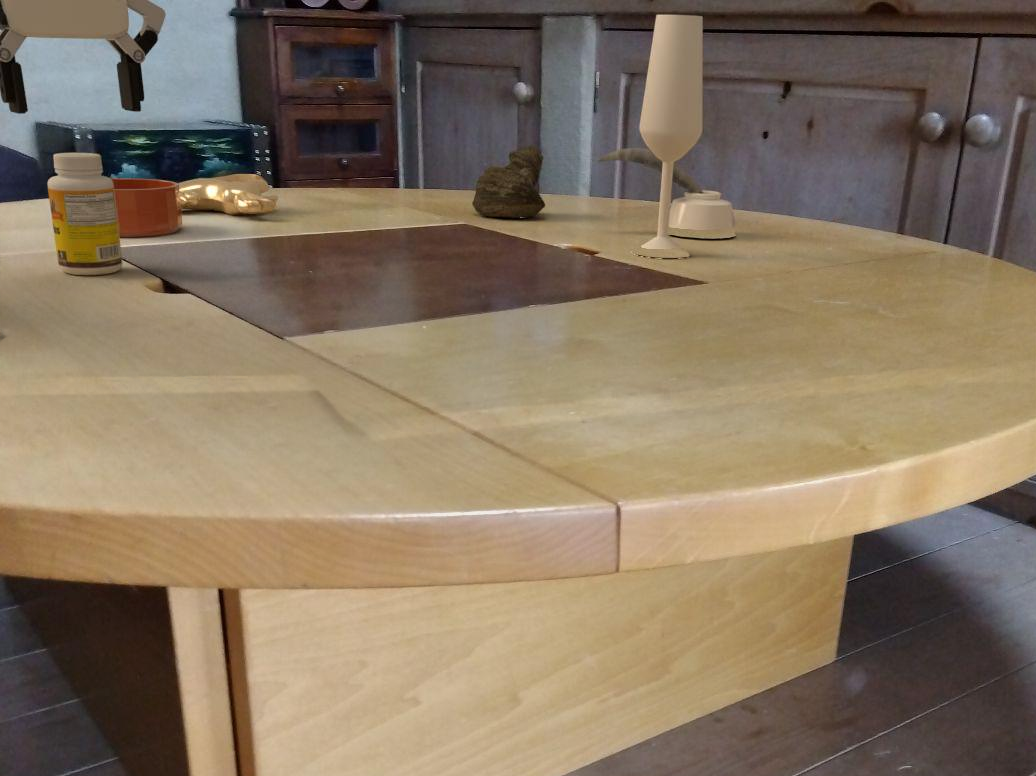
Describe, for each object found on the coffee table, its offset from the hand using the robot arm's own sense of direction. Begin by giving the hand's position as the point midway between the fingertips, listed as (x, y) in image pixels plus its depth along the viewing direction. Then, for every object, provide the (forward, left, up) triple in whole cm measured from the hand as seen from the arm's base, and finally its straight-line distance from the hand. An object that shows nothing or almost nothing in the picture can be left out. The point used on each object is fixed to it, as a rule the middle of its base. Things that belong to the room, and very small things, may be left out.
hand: (76, 111), depth 98 cm
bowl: (+11, +23, -14) cm, 29 cm away
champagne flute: (+57, -16, -14) cm, 60 cm away
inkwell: (+68, -5, -14) cm, 69 cm away
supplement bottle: (0, 0, -14) cm, 14 cm away
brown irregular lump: (+58, +17, -14) cm, 62 cm away
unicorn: (+26, +33, -14) cm, 44 cm away
